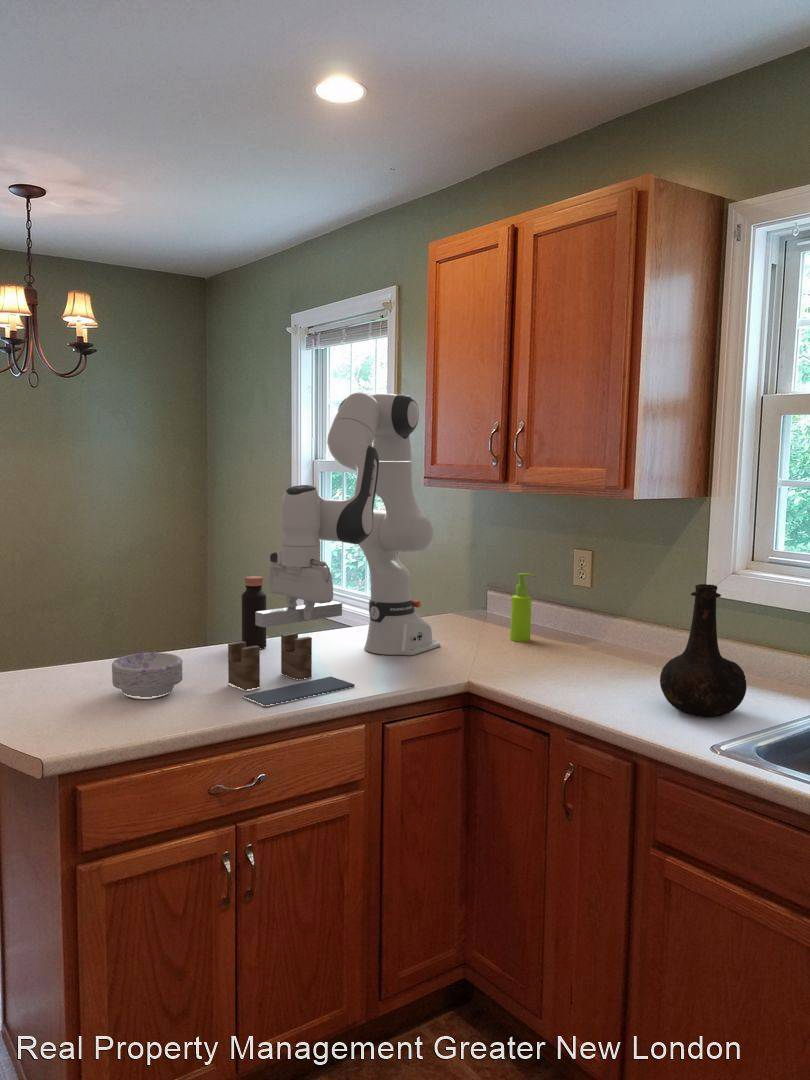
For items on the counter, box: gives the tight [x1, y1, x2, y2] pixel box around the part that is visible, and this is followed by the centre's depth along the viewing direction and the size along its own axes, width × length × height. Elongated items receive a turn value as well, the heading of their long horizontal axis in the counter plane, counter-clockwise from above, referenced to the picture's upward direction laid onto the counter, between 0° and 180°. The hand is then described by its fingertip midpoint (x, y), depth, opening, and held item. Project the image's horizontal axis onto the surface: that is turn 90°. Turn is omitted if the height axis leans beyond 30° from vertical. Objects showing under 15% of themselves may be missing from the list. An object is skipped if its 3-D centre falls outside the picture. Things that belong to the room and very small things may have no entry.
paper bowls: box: [111, 652, 184, 697], centre depth 188 cm, size 15×15×8 cm
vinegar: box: [241, 575, 267, 649], centre depth 233 cm, size 7×7×20 cm
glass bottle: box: [659, 583, 747, 719], centre depth 180 cm, size 18×18×28 cm
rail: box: [255, 600, 343, 628], centre depth 190 cm, size 22×3×3 cm, turn 133°
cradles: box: [227, 632, 313, 690], centre depth 200 cm, size 19×7×10 cm, turn 133°
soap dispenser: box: [509, 572, 536, 643], centre depth 249 cm, size 6×7×20 cm
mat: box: [242, 676, 356, 706], centre depth 192 cm, size 25×9×1 cm, turn 133°
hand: (300, 617), depth 190 cm, fingers closed on rail, 3 cm apart
